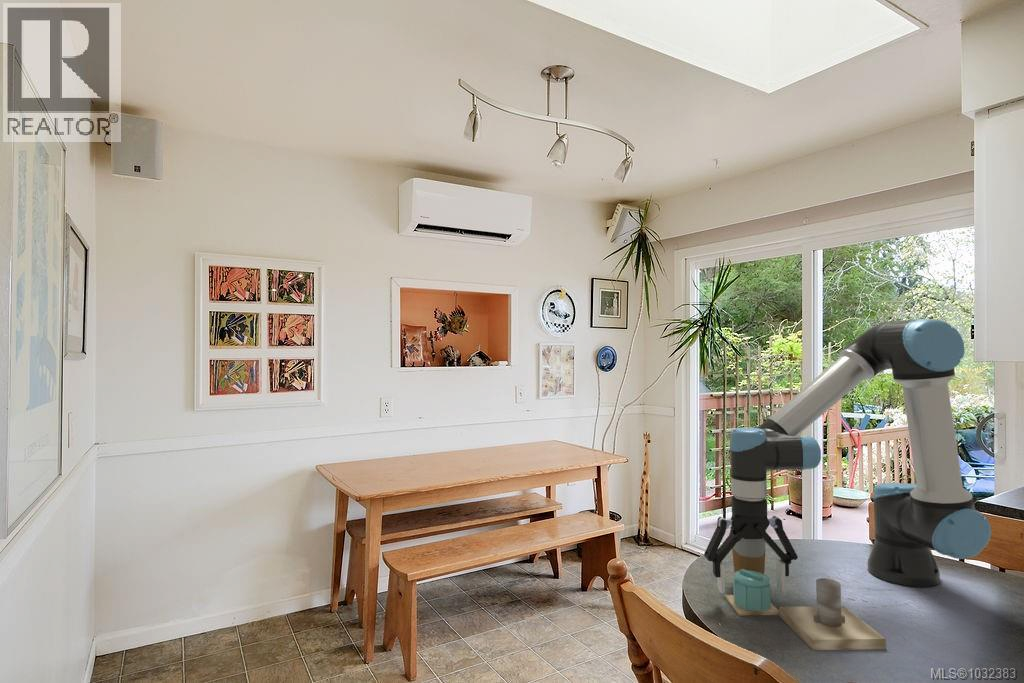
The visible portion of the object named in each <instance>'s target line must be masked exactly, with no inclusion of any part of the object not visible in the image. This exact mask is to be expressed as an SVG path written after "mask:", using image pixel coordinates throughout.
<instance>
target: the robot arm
mask: <svg viewBox="0 0 1024 683" xmlns="http://www.w3.org/2000/svg"><path fill="white" fill-rule="evenodd" d="M838 354H839V355H838V356H839V358H837V359H836V360H835V361H834V362H833V363H831V365H829V366H828V367H827V368H826V369H825V370H823V371H822V372H820V374H819V375H818V376H816V377H815V378H814V379H813V380H811V382H809V383H808V384H807V385H806V386H805V387H804V388H803V389H800V391H798V392H797V394H795V395H794V396H793V397H792V398H791V399H789V400H788V401H787V402H786V403H785V404H784V405H783V406H781V407H780V408H779V409H778V410H777V411H775V412H774V413H773V414H772V415H771V416H770V417H769V418H768V419H766V420H765V421H764V422H762V423H761V424H760V425H759V426H758V425H755V426H750V427H737V428H736V427H735V428H734V429H732V430H731V431H730V438H729V440H730V441H729V452H730V453H729V455H730V456H729V457H730V485H731V486H730V488H731V489H730V490H731V492H730V493H731V495H732V496H731V498H730V499H731V500H730V501H731V517H730V518H729V519H728V518H723V517H722V516H719V517H718V518H717V525H716V527H715V530H714V532H713V534H712V537H711V539H710V540H709V543H708V545H707V546H706V549H705V551H704V553H703V556H704V558H706V560H708V561H709V562H712V574H713V576H714V577H715V578H716V580H717V582H716V585H717V590H718V591H719V593H720V594H722V595H723V594H724V595H726V578H725V572H726V571H725V563H724V562H723V561H724V559H725V558H726V556H727V555H728V554H729V553H730V552H731V551H732V548H733V547H734V546H735V544H736V543H737V542H739V541H740V540H741V539H742V538H744V539H751V538H753V539H759V538H760V537H762V538H763V539H764V540H765V541H766V542H765V544H767V545H768V546H769V547H770V548H771V550H772V551H773V553H775V554H776V556H778V558H777V559H775V560H776V561H775V564H776V569H775V570H776V588H777V589H778V590H779V591H780V592H781V593H783V594H786V591H787V589H786V588H787V586H786V585H787V584H786V582H787V581H786V577H789V575H790V565H791V564H792V561H793V560H794V561H797V560H798V557H799V556H798V554H797V553H796V550H795V549H794V547H793V545H792V544H791V540H789V537H788V536H787V533H786V532H785V529H784V526H783V521H782V519H781V518H779V517H777V516H776V515H773V516H772V517H770V518H768V500H767V497H768V484H767V478H768V477H767V476H768V475H767V471H795V470H797V471H798V470H800V471H804V470H811V469H816V468H818V466H819V465H820V463H821V460H822V451H821V446H820V445H819V443H818V441H817V440H816V439H815V438H814V437H813V436H810V435H801V434H802V433H803V432H804V431H805V430H806V429H808V428H809V427H810V426H811V425H812V424H814V423H815V421H817V420H818V419H819V418H820V417H822V415H824V414H825V413H826V412H827V411H828V410H830V409H831V408H832V407H833V406H834V405H835V404H837V403H838V402H839V401H840V400H841V399H843V398H845V396H846V395H847V394H849V393H850V392H851V391H852V390H853V389H854V388H856V386H858V385H859V384H860V383H862V381H864V380H871V379H873V378H875V377H876V376H877V375H878V374H879V373H881V372H884V371H887V370H890V369H891V371H892V372H891V373H892V377H893V378H892V379H893V381H895V382H896V383H898V384H899V385H900V386H901V387H902V392H903V394H902V395H903V399H904V400H903V401H904V406H905V415H906V421H907V427H908V434H909V444H910V449H911V456H912V461H913V462H912V463H913V470H914V476H915V483H905V482H904V483H903V482H886V483H885V482H884V483H879V484H877V485H875V486H874V489H873V497H872V500H873V517H874V518H873V519H874V520H873V523H874V542H873V545H872V548H871V551H870V553H869V557H868V559H867V571H868V572H869V573H870V574H871V575H873V576H875V577H876V578H879V579H881V580H883V581H887V582H890V583H893V584H897V585H903V586H908V587H920V588H926V587H927V588H928V587H935V586H937V585H939V584H940V583H941V574H940V569H939V567H938V565H937V562H936V559H935V558H934V554H933V552H932V550H934V551H935V552H937V553H938V554H940V555H944V556H948V557H951V558H954V559H958V560H959V559H960V560H966V559H971V558H975V556H977V555H979V554H980V553H981V552H982V551H983V549H984V548H987V546H988V544H989V542H990V539H991V536H992V534H991V533H992V528H991V527H992V526H991V523H990V521H989V519H988V518H987V517H986V516H985V515H984V514H983V513H982V512H981V511H979V510H976V509H975V503H974V497H973V494H972V493H971V492H970V491H968V490H967V489H966V488H964V487H963V478H962V474H961V467H960V466H961V465H960V459H959V453H958V446H957V445H958V444H957V438H956V433H955V432H956V431H955V426H954V417H953V412H952V405H951V397H950V389H949V383H950V381H951V380H953V378H954V377H955V376H956V373H955V368H956V367H957V366H958V365H960V363H961V359H963V358H964V355H965V342H964V340H963V337H962V336H961V334H960V332H959V331H958V330H957V329H956V328H955V327H954V326H952V325H951V324H950V323H948V322H947V321H945V320H941V319H935V318H934V319H931V318H918V319H915V318H914V319H907V320H891V321H883V322H882V323H878V324H875V325H874V326H872V327H870V328H869V329H867V330H866V331H864V332H863V333H862V334H860V335H858V336H857V337H856V338H855V339H853V340H852V341H851V342H850V343H848V344H847V345H846V346H845V347H844V348H843V349H841V350H840V351H839V353H838ZM731 526H732V527H733V529H732V531H731V532H730V531H729V533H728V534H729V535H728V536H727V537H726V539H725V540H724V541H723V538H724V537H725V535H726V532H727V530H728V529H729V527H731ZM770 526H771V527H772V528H773V530H774V531H775V534H776V535H777V538H778V540H779V541H780V543H781V544H782V547H783V549H784V551H785V552H786V553H785V552H784V551H783V550H782V549H781V547H780V546H779V545H778V544H777V543H776V542H775V541H774V540H773V538H772V537H771V536H770V535H769V533H768V532H767V529H769V527H770ZM722 541H723V542H722ZM721 543H722V544H721Z"/></svg>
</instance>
